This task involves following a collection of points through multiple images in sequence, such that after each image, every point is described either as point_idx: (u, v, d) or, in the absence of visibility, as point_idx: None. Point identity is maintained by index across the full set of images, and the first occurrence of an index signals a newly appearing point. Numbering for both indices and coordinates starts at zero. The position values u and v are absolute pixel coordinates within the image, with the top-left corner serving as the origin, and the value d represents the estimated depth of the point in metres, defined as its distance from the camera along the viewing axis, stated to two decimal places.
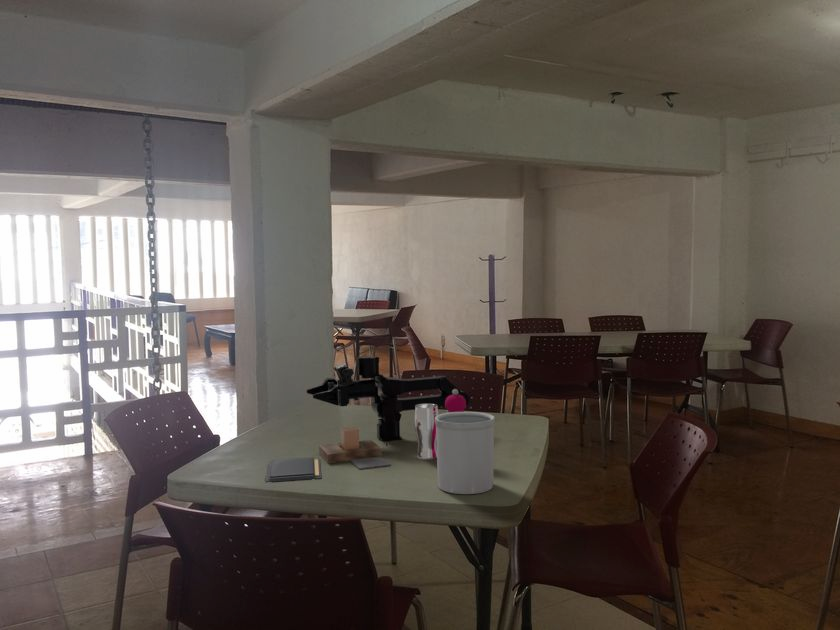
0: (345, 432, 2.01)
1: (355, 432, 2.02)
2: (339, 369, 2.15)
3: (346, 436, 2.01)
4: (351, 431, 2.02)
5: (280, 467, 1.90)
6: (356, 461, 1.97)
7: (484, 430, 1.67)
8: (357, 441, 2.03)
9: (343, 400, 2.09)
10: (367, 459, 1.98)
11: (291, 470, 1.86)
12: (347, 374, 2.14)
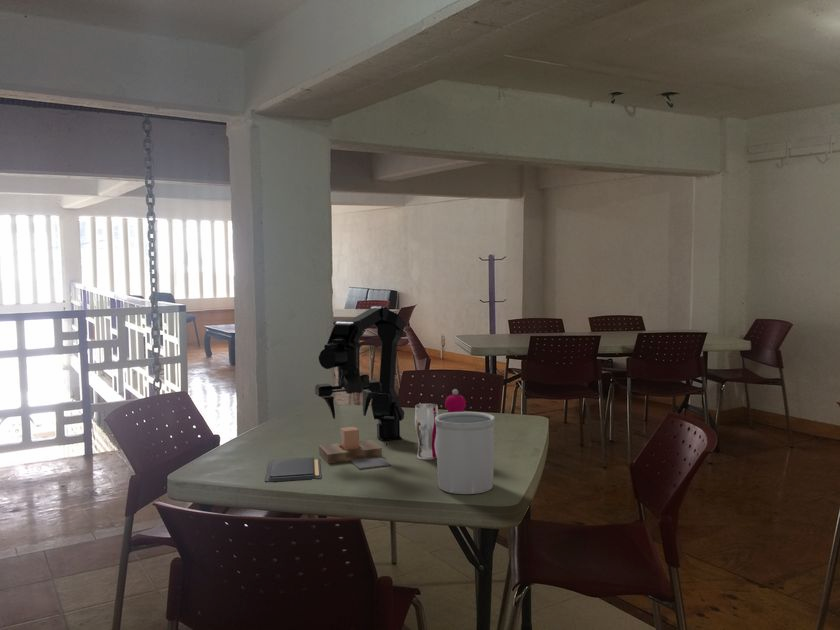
0: (345, 432, 2.01)
1: (355, 432, 2.02)
2: (362, 389, 1.97)
3: (346, 436, 2.01)
4: (351, 431, 2.02)
5: (280, 467, 1.90)
6: (356, 461, 1.97)
7: (484, 430, 1.67)
8: (357, 441, 2.03)
9: None
10: (367, 459, 1.98)
11: (291, 470, 1.86)
12: None
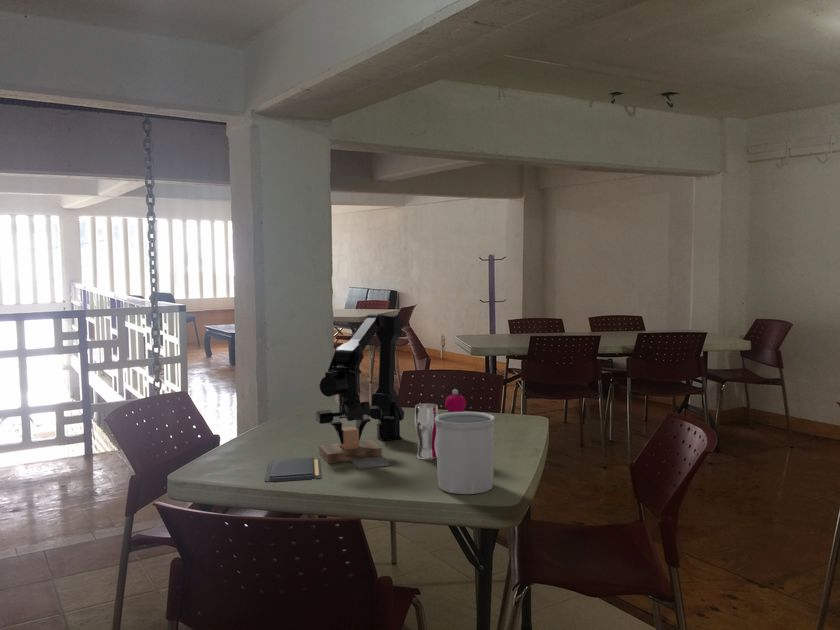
0: (345, 432, 2.01)
1: (355, 432, 2.02)
2: (363, 416, 1.98)
3: (346, 436, 2.01)
4: (351, 431, 2.02)
5: (280, 467, 1.90)
6: (356, 461, 1.97)
7: (484, 430, 1.67)
8: (357, 441, 2.03)
9: None
10: (367, 459, 1.98)
11: (291, 470, 1.86)
12: None
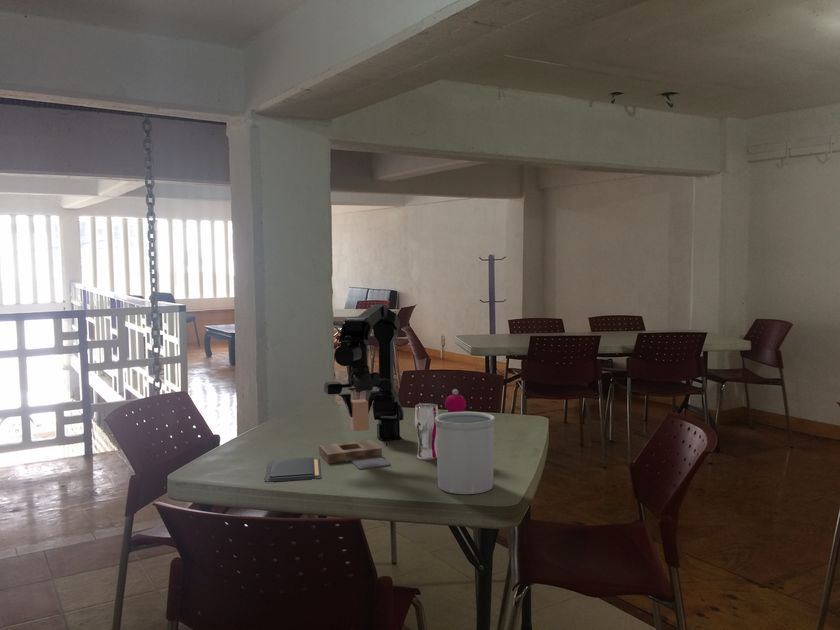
0: (354, 404, 1.96)
1: (364, 404, 1.97)
2: (372, 387, 1.92)
3: (355, 408, 1.96)
4: (360, 403, 1.96)
5: (280, 467, 1.90)
6: (356, 461, 1.97)
7: (484, 430, 1.67)
8: (366, 413, 1.97)
9: None
10: (367, 459, 1.98)
11: (291, 470, 1.86)
12: None
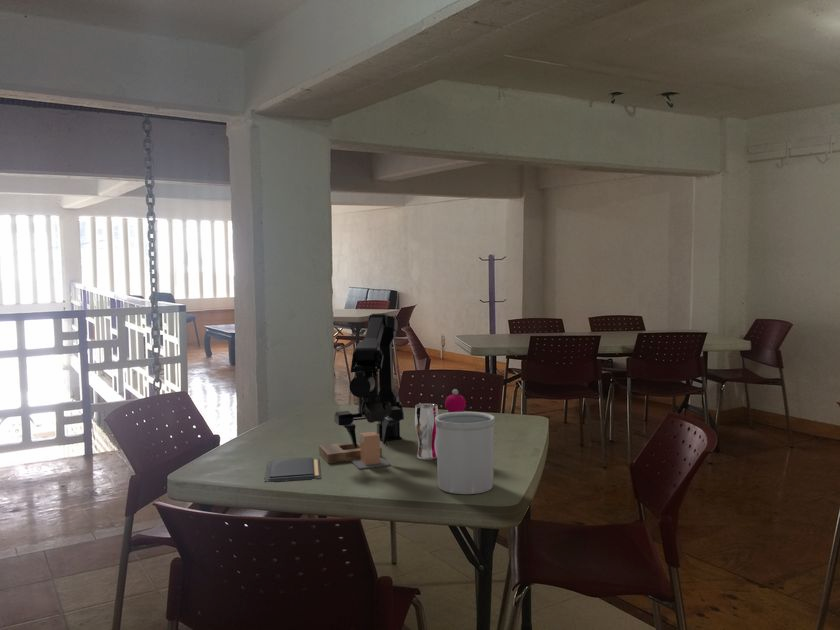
0: (365, 437, 1.92)
1: (376, 437, 1.94)
2: (384, 418, 1.89)
3: (366, 442, 1.93)
4: (371, 436, 1.93)
5: (279, 467, 1.90)
6: (356, 461, 1.97)
7: (484, 430, 1.67)
8: (378, 447, 1.94)
9: None
10: None
11: (291, 470, 1.86)
12: None
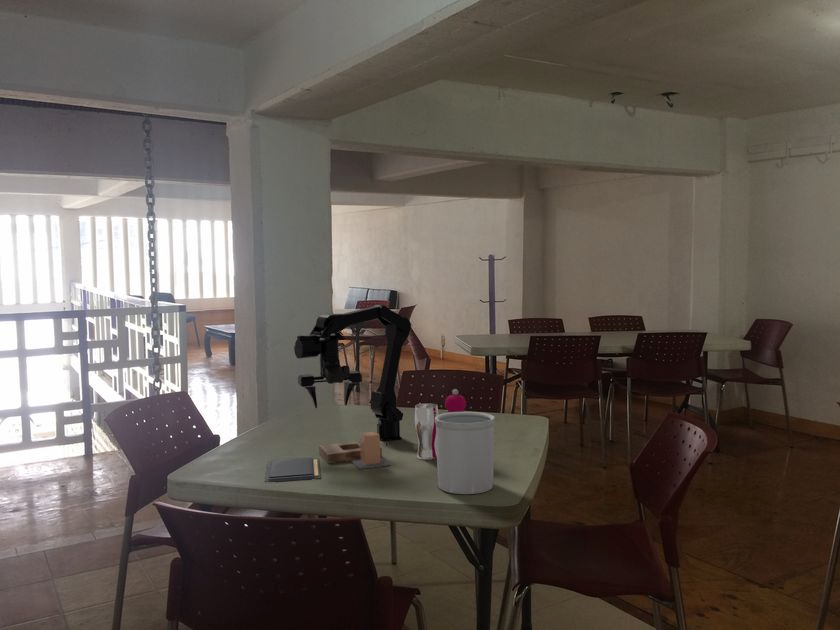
0: (365, 437, 1.92)
1: (376, 437, 1.94)
2: None
3: (366, 442, 1.93)
4: (371, 436, 1.93)
5: (279, 467, 1.89)
6: (356, 461, 1.97)
7: (484, 430, 1.67)
8: (378, 447, 1.94)
9: None
10: None
11: (290, 470, 1.86)
12: None
